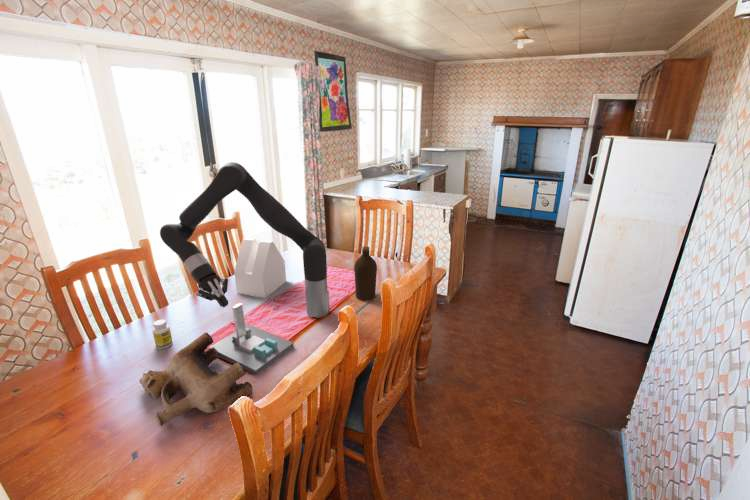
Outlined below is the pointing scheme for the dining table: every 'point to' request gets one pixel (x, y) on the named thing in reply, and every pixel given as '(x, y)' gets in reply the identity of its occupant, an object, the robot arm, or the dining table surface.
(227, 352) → the base plate
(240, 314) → the latch lever
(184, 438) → the dining table surface
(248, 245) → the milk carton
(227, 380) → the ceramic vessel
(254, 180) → the robot arm
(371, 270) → the olive oil
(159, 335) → the supplement bottle
